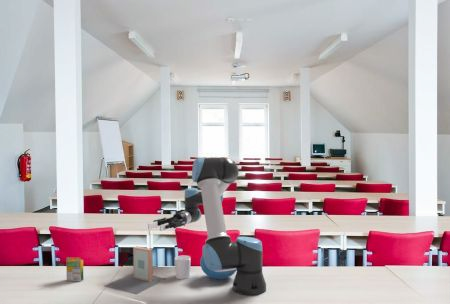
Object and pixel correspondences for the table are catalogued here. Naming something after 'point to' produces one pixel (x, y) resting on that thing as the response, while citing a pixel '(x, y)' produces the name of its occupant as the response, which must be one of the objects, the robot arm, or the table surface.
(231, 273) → the educational model
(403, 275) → the table surface
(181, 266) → the white cup
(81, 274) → the crayon box
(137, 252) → the tile
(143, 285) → the mat
